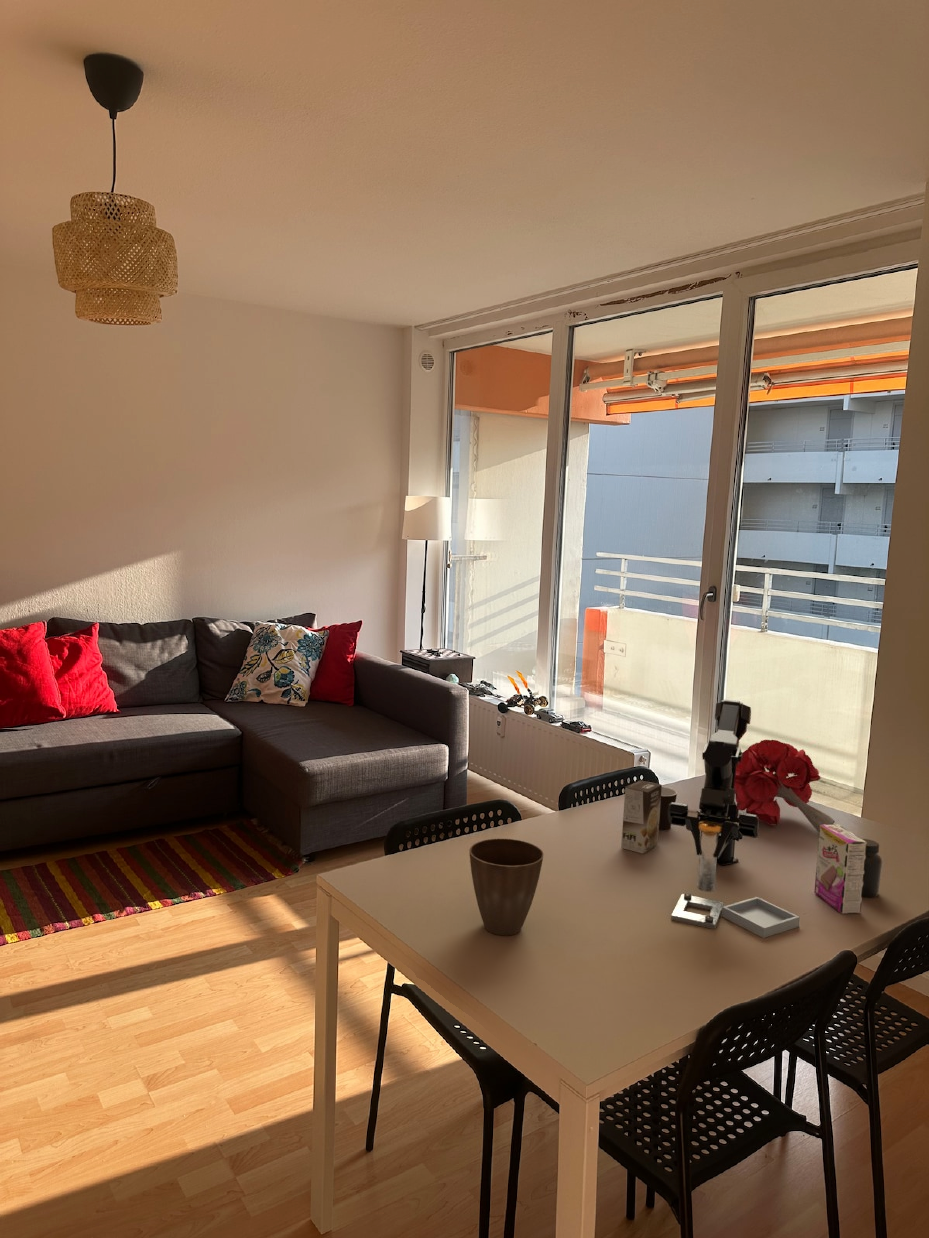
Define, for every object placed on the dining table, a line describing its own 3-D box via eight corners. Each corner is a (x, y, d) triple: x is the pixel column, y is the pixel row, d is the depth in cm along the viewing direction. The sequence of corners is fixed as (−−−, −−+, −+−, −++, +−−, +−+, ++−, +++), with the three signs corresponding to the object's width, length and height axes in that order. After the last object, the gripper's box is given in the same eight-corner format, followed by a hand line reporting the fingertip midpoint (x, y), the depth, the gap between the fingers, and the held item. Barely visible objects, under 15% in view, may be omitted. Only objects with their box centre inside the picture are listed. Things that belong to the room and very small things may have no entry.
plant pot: (467, 909, 188) (470, 836, 186) (537, 912, 188) (541, 839, 186) (465, 942, 173) (468, 863, 171) (541, 946, 173) (545, 867, 171)
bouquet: (821, 842, 255) (738, 772, 269) (869, 784, 243) (779, 714, 258) (791, 868, 239) (704, 792, 254) (840, 806, 228) (746, 731, 242)
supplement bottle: (847, 895, 203) (851, 844, 201) (845, 883, 209) (850, 834, 208) (880, 900, 200) (885, 849, 199) (877, 889, 207) (882, 839, 205)
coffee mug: (677, 832, 239) (680, 796, 238) (645, 831, 239) (648, 795, 238) (668, 817, 251) (670, 783, 250) (638, 816, 251) (640, 782, 250)
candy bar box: (812, 893, 203) (818, 823, 201) (832, 892, 204) (838, 823, 202) (840, 914, 192) (847, 841, 190) (861, 914, 193) (868, 841, 191)
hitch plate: (681, 898, 198) (682, 891, 197) (723, 906, 194) (723, 899, 194) (671, 919, 187) (671, 912, 186) (715, 929, 183) (715, 921, 183)
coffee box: (643, 854, 223) (647, 792, 221) (620, 848, 226) (624, 787, 224) (658, 844, 230) (662, 784, 228) (635, 838, 234) (639, 779, 232)
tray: (756, 905, 195) (757, 896, 195) (798, 926, 186) (799, 916, 186) (721, 916, 189) (722, 906, 189) (763, 937, 180) (764, 928, 180)
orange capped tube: (704, 881, 192) (708, 819, 191) (722, 889, 189) (726, 826, 187) (689, 886, 190) (693, 822, 188) (706, 894, 186) (711, 830, 184)
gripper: (671, 766, 193) (659, 831, 184) (761, 778, 186) (753, 846, 178) (674, 791, 202) (663, 854, 193) (761, 803, 195) (753, 870, 186)
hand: (707, 855), depth 187 cm, fingers closed on orange capped tube, 4 cm apart
